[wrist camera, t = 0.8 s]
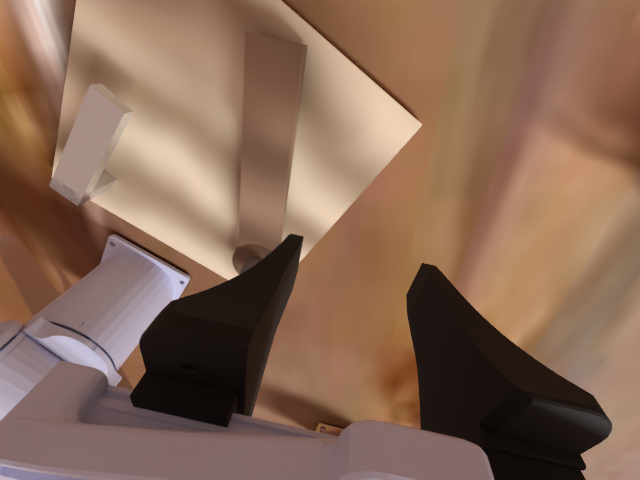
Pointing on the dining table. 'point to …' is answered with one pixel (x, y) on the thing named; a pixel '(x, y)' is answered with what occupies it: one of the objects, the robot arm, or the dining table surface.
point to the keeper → (91, 146)
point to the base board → (221, 119)
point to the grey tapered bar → (267, 142)
